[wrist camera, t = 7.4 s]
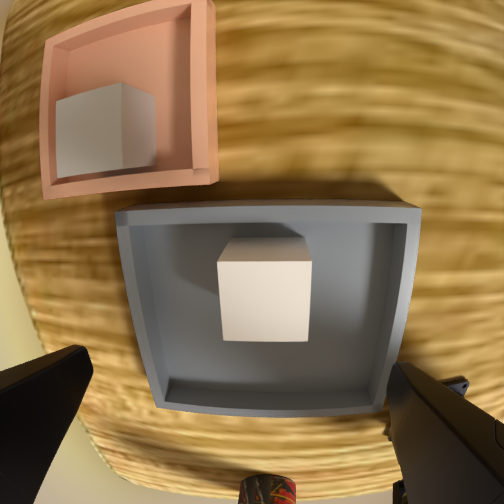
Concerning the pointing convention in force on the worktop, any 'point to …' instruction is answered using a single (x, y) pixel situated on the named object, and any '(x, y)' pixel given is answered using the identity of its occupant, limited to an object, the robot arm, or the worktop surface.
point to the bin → (270, 353)
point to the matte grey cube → (105, 130)
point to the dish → (143, 78)
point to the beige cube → (265, 289)
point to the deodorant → (267, 490)
